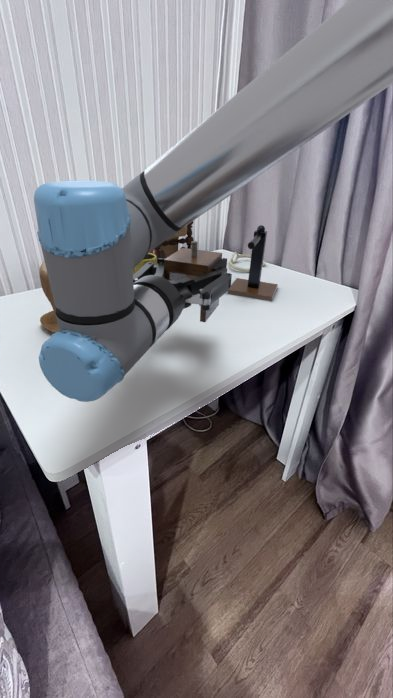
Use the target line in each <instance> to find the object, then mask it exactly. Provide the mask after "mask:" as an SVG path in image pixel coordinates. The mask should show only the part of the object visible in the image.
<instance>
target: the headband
mask: <svg viewBox="0 0 393 698" xmlns="http://www.w3.org/2000/svg"><path fill="white" fill-rule="evenodd" d="M235 255H236V257H235ZM234 257H235V258H234ZM241 258H243V259H251V254H239V252H237V251H234V252H233V253H232V256H231V257H230V258H229V262H228V264H229V266H230V267H231V268H232V269H234V270H236V271H239V272H243V273H249V270H250V268H245V267H240V266H237V265H236V264H235V263H236V262H237V261H238V259H241ZM265 265H266V262H265V260H264V259H263V265H262V267H265Z"/></svg>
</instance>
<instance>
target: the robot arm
mask: <svg viewBox="0 0 393 698" xmlns="http://www.w3.org/2000/svg"><path fill="white" fill-rule="evenodd" d="M391 85H393V0H348V1H346V2H345V4H343V5H342V6H341V7H340V8H338V9H337V10H336V11H335V12H334V13H332V14H331V15H330V16H329V17H327V18H326V19H324V21H322V22H321V23H320V24H319V25H318V26H316V28H314V29H313V30H311V32H309V33H308V34H307V35H306V36H304V37H303V38H302V39H301V40H300V41H298V42H297V43H296V44H295V45H294V46H292V47H291V48H289V50H288V51H286V52H285V53H284V54H283V55H282V56H280V57H279V58H278V59H277V60H276V61H274V62H273V63H272V64H271V65H269V66H268V67H267V68H266V69H264V70H263V71H262V72H261V73H259V75H257V76H256V77H255V78H254V79H253V80H251V81H250V82H249V83H248V84H246V85H245V86H244V87H243V88H241V90H239V91H238V92H237V93H235V95H233V96H232V97H231V98H229V100H227V101H226V102H225V103H224V104H222V105H221V106H220V107H219V108H218V109H216V110H215V111H214V112H213V113H212V114H210V115H209V116H208V117H207V118H206V119H205V120H203V121H202V122H201V123H199V124H198V125H197V126H196V127H194V128H193V129H192V130H191V131H189V132H188V133H187V134H186V135H185V136H184V137H183V138H181V139H180V140H179V141H178V142H176V144H174V145H173V146H172V147H171V148H169V149H168V150H167V151H165V152H164V153H163V154H162V155H161V156H160V157H158V158H157V159H156V160H155V161H154V162H152V163H151V164H149V166H148V167H146V168H145V169H144V170H143V171H142V172H140V174H138V175H136V176H135V177H134V178H133V179H132V180H130V181H129V182H128V183H126V184H125V185H124V186H123V187H120V186H119V184H117V183H114V182H110V181H103V180H101V181H100V180H63V181H51V182H45V183H43V184H40V185H39V186H38V187H37V188H36V189H35V191H34V195H33V205H34V210H35V217H36V223H37V232H36V233H37V239H38V242H39V244H40V247H41V252H42V256H43V262H44V261H45V265H46V269H47V274H48V278H49V282H50V287H51V291H52V295H53V300H54V304H55V308H56V317H57V322H58V326H59V331H57V332H53V333H51V335H50V337H48V339H47V340H45V341H44V342H43V343H42V345H41V349H40V353H39V356H38V362H39V367H40V370H41V372H42V375H43V376H44V378H45V379H46V381H47V382H48V384H49V385H50V386H52V388H54V389H55V390H56V391H57V392H58V393H60V394H61V395H62V396H64V397H66V398H67V399H68V398H69V399H73V400H76V401H78V402H82V403H89V402H95V401H97V400H99V399H101V398H102V397H103V396H105V395H106V394H107V393H108V392H109V391H111V390H112V389H113V387H115V386H116V385H117V384H119V383H121V382H122V381H123V380H124V378H125V376H126V375H127V374H128V373H129V372H130V371H131V369H132V368H133V367H135V365H136V364H137V363H138V362H139V361H140V360H141V358H142V357H143V356H144V355H145V354H146V353H147V352H148V351H149V350H150V348H152V347H153V345H155V344H156V343H157V342H158V340H159V339H160V338H161V337H162V336H163V335H164V334H165V333H166V331H168V330H169V329H170V328H171V327H172V326H173V325H174V324H175V322H177V321H178V319H179V318H180V316H181V314H182V312H183V311H184V309H187V308H189V307H191V306H192V305H198V306H199V307H200V308H201V309H202V310H209V309H210V306H211V304H212V303H213V302H215V301H216V300H217V299H219V300H220V298H221V297H223V296H224V295H226V294H227V293H228V291H229V290H230V289H231V285H232V277H233V275H232V273H230V272H228V267H227V266H228V258H226V257H222V260H221V261H220V262H219V263H217V264H216V265H215V266H214V267H213V268H212V272H211V273H208V274H205V275H202V276H199V277H196V278H193V279H191V278H188V277H187V278H184V279H181V280H178V281H177V280H173V281H170V280H167V279H165V277H164V258H158V264H157V265H154V263H153V262H147V263H146V264H145V265H144V266H143V267H142V268H140V269H139V270H138V271H137V272H136V273H135V274H134V275H133V269H134V268H135V267H136V266H137V265H138V264H139V263H140V262H141V261H142V260H143V259H144V258H145V257H146V255H147V254H148V253H149V252H151V251H152V250H153V249H154V248H156V247H157V246H158V245H160V244H161V243H163V242H164V241H166V240H167V239H168V238H170V237H171V236H173V235H174V234H176V233H177V232H179V230H181V229H182V228H183V227H185V226H186V225H188V224H189V223H191V222H192V221H193V222H194V221H195V220H196V219H198V218H199V217H201V216H202V215H204V214H206V213H207V212H208V211H210V210H211V209H213V208H214V207H215V206H217V205H219V204H220V203H222V202H223V201H224V200H226V199H227V198H228V197H230V196H232V195H233V194H235V193H236V192H237V191H239V190H241V189H243V187H244V186H246V185H248V184H249V183H251V182H252V181H253V180H255V179H257V178H258V177H259V176H261V175H262V174H264V173H265V172H267V171H268V170H269V169H271V168H272V167H274V166H275V165H277V164H278V163H280V162H281V161H282V160H284V159H285V158H287V157H288V156H289V155H291V154H292V153H294V152H295V151H297V150H298V149H300V148H302V147H303V146H304V145H306V144H307V143H308V142H310V141H311V140H313V139H314V138H316V137H317V136H319V135H320V134H321V133H323V132H324V131H326V130H327V129H329V128H331V127H332V126H333V125H335V124H336V123H338V122H339V121H340V120H342V119H343V118H345V117H346V116H348V115H350V114H351V113H352V112H354V111H355V110H356V109H358V108H360V107H361V106H362V105H364V104H365V103H367V102H368V101H369V100H371V99H372V98H374V97H375V96H377V95H378V94H380V93H381V92H382V91H384V90H386V89H387V88H389V87H390V86H391Z"/></svg>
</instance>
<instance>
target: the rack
mask: <svg viewBox="0 0 393 698" xmlns="http://www.w3.org/2000/svg"><path fill="white" fill-rule="evenodd" d="M267 236H268V231H266V227H265V226H264V225H262V224H260V225H258V226H257V228H256V230H254V231H253V237H252V239H251V240H250V241H249V242H248V243H247V248H248V249H249V250H251V254H250V255H251V258H250V264H249V269H250V270H249V272H248V279H247V278H239V277H236V278H235V280H234V281H233V282H232V283H231V289H230V290H229V291H228V292H227V294H229V295H234V296H239V297H246V298H250V299H251V298H252V299H257V300H263V301H269V302H272V301H273V298H274V296H275V295H276V292H277V290H278V287H279V284H278V283H274V282H273V283H272V282H265V281H261V280H262V272H263V260H264V258H265V251H266V242H267Z"/></svg>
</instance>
